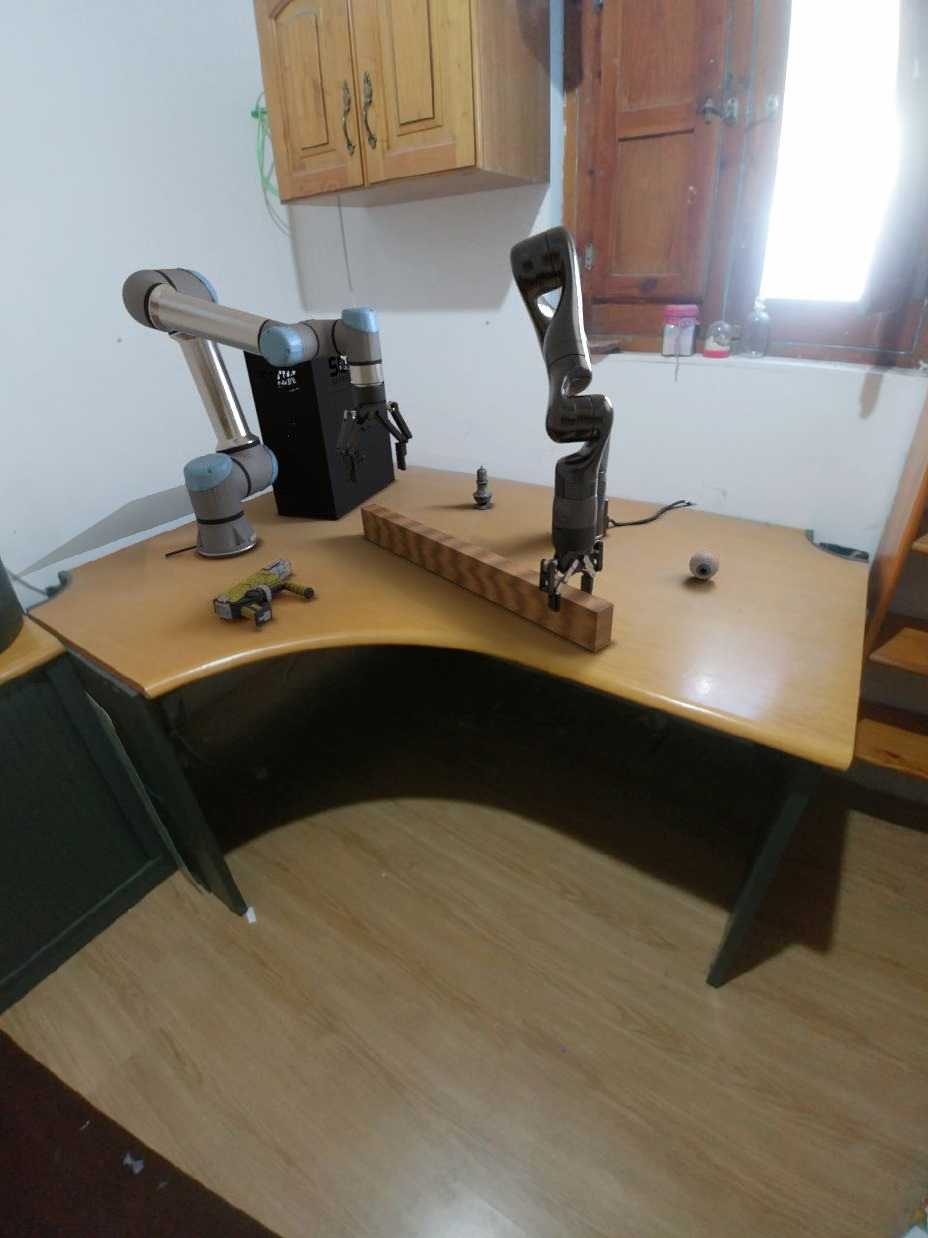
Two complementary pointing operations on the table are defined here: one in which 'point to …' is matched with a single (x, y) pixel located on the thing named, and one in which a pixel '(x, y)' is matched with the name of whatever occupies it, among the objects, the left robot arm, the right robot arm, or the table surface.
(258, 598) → the toy gun
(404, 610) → the table surface
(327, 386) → the cardboard box
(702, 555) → the eyeball
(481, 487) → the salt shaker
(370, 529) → the bar
